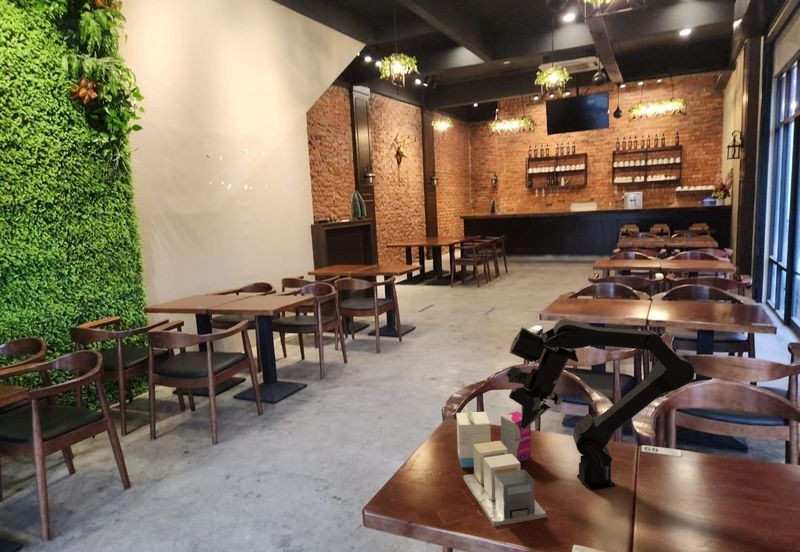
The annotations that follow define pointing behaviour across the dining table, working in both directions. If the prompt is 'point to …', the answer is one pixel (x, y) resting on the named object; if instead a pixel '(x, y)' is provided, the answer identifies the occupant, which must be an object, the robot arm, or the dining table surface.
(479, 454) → the block
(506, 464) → the block
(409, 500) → the dining table surface
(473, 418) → the ink box
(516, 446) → the supplement box
